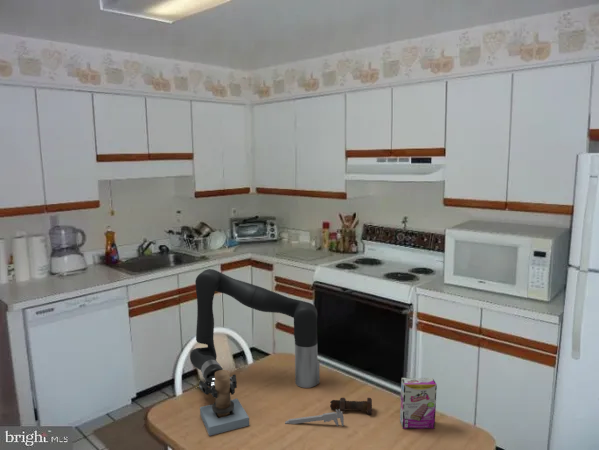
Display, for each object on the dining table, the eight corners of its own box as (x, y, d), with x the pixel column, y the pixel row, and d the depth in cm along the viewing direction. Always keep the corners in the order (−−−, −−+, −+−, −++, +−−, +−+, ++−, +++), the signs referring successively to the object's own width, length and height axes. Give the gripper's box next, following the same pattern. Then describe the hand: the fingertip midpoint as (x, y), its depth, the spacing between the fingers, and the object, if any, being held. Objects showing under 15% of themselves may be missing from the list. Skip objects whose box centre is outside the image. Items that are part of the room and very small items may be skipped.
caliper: (343, 425, 156) (343, 408, 156) (343, 427, 155) (343, 410, 154) (285, 422, 158) (285, 406, 158) (284, 424, 157) (284, 407, 156)
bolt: (331, 412, 167) (372, 414, 165) (329, 412, 163) (371, 415, 160) (331, 395, 170) (371, 397, 167) (329, 395, 165) (371, 397, 162)
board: (237, 405, 169) (237, 398, 169) (249, 425, 157) (249, 417, 156) (200, 414, 163) (199, 407, 163) (209, 435, 151) (208, 427, 150)
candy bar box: (402, 429, 153) (403, 384, 151) (399, 421, 158) (400, 377, 156) (435, 429, 153) (437, 384, 151) (431, 421, 158) (433, 377, 156)
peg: (230, 407, 165) (229, 366, 162) (236, 418, 158) (235, 375, 156) (210, 412, 162) (208, 370, 159) (215, 423, 155) (214, 380, 153)
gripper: (193, 367, 168) (203, 388, 153) (231, 360, 174) (244, 379, 158) (194, 386, 169) (204, 408, 154) (231, 378, 175) (244, 399, 160)
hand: (224, 393), depth 156 cm, fingers closed on peg, 5 cm apart
